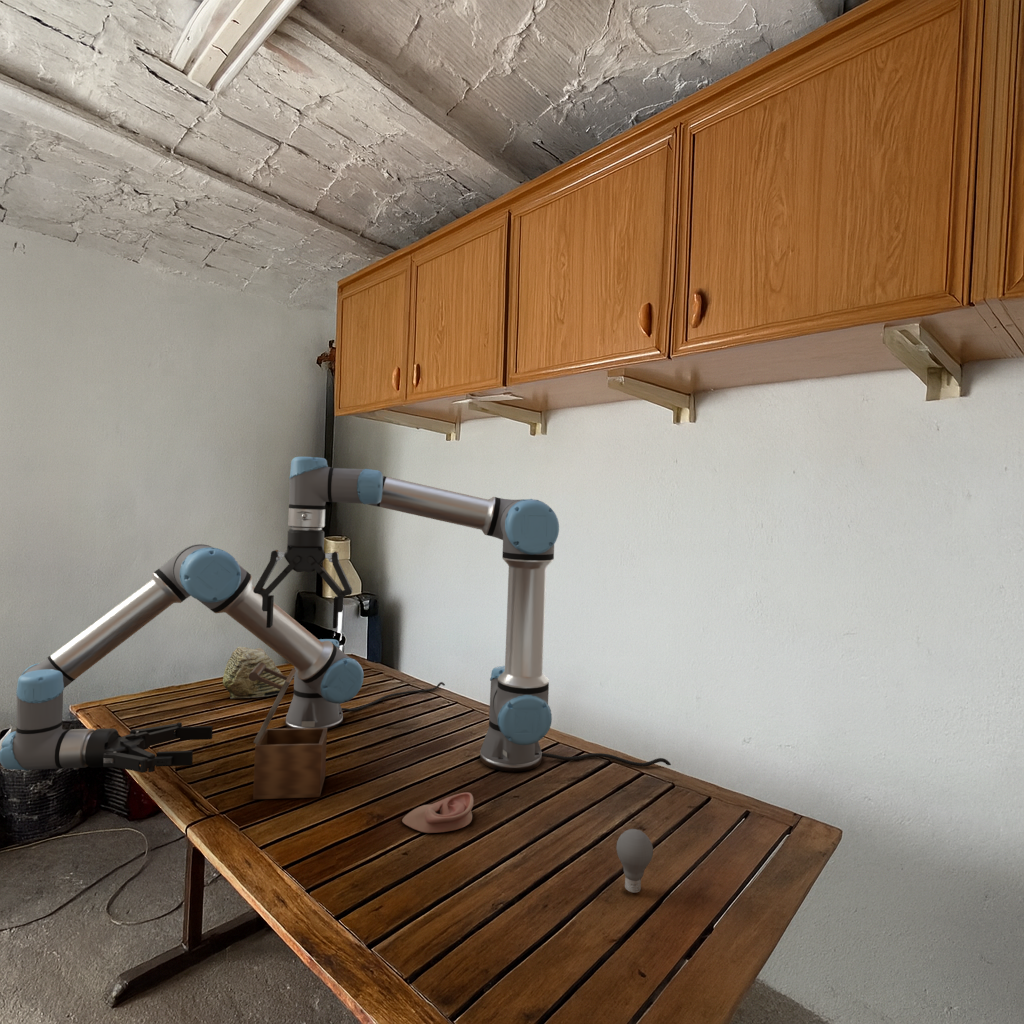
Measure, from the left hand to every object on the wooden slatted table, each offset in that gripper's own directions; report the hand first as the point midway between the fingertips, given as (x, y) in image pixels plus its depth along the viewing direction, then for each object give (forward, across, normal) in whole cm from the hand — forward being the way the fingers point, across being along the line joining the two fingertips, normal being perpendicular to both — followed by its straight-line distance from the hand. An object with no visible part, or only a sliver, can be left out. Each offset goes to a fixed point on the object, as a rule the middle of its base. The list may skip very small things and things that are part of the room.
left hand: (202, 744), depth 134 cm
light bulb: (+80, +43, -10) cm, 91 cm away
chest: (+18, 0, -10) cm, 21 cm away
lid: (+15, 0, +8) cm, 17 cm away
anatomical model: (+49, +17, -10) cm, 53 cm away
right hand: (+20, 0, +25) cm, 32 cm away
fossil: (-4, -66, -10) cm, 67 cm away
